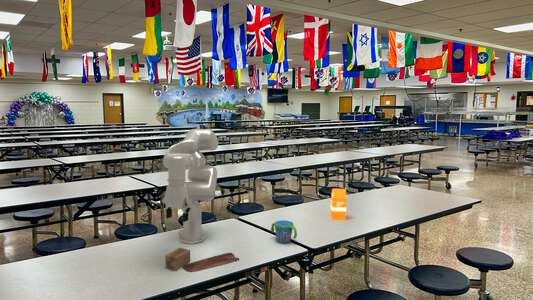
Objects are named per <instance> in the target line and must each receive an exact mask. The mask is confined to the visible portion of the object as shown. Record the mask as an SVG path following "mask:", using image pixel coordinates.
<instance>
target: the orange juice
mask: <svg viewBox="0 0 533 300" xmlns="http://www.w3.org/2000/svg"><path fill="white" fill-rule="evenodd" d="M346 189H347V188H332V190H331V195H330V198H331V199H330V215H329V217H330V220H331V221H346V218H347V217H346V216H347V190H346Z"/></svg>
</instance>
